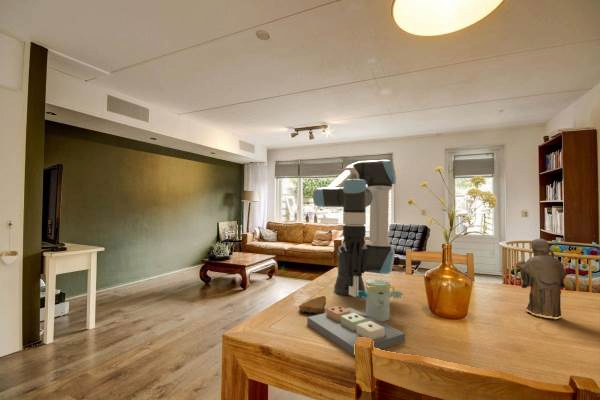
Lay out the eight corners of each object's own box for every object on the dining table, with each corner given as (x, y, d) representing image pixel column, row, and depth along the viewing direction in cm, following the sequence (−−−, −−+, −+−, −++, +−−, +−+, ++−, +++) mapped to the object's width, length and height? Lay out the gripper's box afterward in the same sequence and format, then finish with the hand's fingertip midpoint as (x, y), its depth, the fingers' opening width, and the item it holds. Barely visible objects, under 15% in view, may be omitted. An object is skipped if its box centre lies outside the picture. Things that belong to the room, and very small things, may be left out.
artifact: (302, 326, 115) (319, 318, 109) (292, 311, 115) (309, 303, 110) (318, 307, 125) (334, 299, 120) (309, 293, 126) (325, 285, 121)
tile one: (370, 330, 94) (370, 319, 94) (384, 337, 89) (384, 326, 89) (356, 334, 91) (356, 323, 91) (370, 341, 86) (370, 330, 86)
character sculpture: (356, 323, 104) (356, 286, 104) (349, 312, 116) (349, 278, 116) (410, 323, 105) (411, 286, 105) (398, 312, 116) (399, 278, 116)
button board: (350, 313, 113) (350, 307, 114) (405, 341, 91) (405, 333, 91) (307, 324, 103) (307, 317, 103) (356, 357, 81) (356, 348, 81)
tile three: (339, 313, 108) (339, 304, 108) (350, 319, 103) (350, 310, 103) (326, 316, 105) (326, 307, 105) (336, 322, 100) (337, 313, 100)
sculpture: (567, 315, 114) (567, 239, 115) (566, 323, 107) (566, 242, 107) (518, 306, 125) (518, 236, 125) (514, 312, 117) (514, 238, 118)
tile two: (354, 321, 101) (354, 311, 101) (366, 327, 96) (366, 317, 96) (340, 324, 98) (340, 315, 98) (352, 331, 93) (352, 321, 93)
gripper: (361, 223, 104) (360, 289, 104) (331, 224, 98) (330, 295, 97) (376, 225, 98) (376, 295, 98) (345, 226, 91) (345, 301, 91)
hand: (353, 295), depth 97 cm, fingers closed
